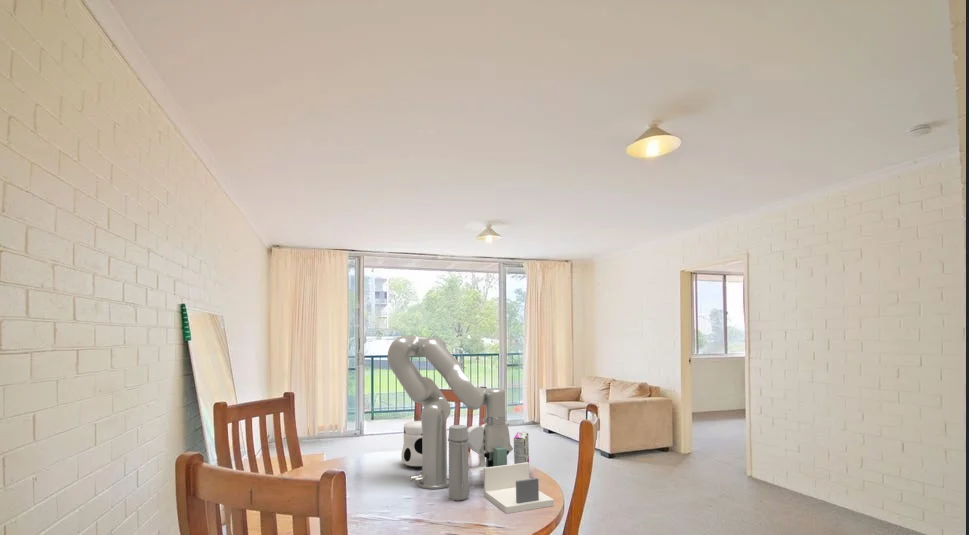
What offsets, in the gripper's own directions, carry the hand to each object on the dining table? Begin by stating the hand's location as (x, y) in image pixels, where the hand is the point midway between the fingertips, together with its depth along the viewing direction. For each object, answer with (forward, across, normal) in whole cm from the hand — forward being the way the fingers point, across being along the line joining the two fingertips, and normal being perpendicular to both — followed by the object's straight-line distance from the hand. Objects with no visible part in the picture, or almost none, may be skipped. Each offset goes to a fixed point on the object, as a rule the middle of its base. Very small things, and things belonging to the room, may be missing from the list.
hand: (496, 469), depth 203 cm
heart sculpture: (+7, +5, +26) cm, 27 cm away
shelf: (+6, 0, -18) cm, 20 cm away
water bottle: (+6, -18, -8) cm, 21 cm away
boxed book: (+6, 0, 0) cm, 6 cm away
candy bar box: (+7, +15, +8) cm, 18 cm away
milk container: (+7, -18, +41) cm, 45 cm away
